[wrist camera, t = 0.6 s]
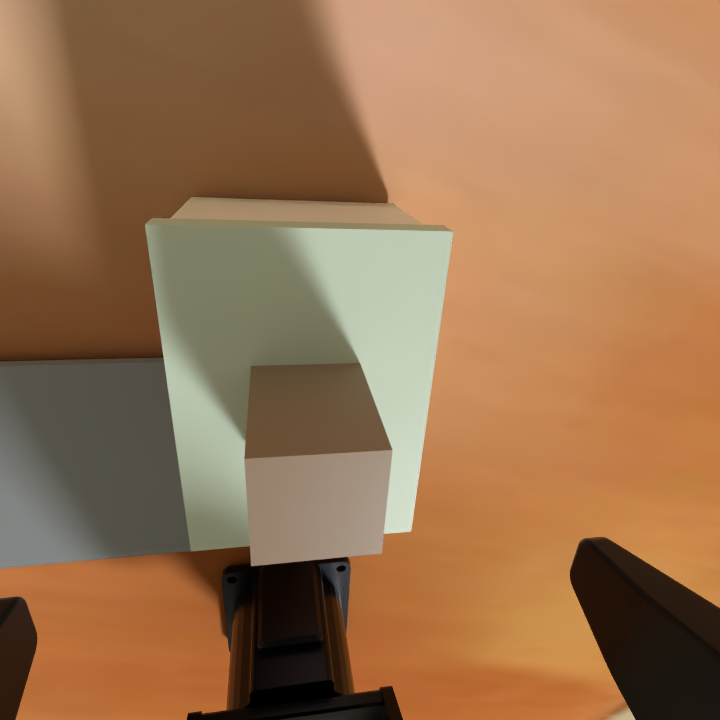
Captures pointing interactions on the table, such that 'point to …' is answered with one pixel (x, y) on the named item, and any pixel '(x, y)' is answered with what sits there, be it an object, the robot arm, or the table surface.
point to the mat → (87, 462)
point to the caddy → (293, 211)
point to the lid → (298, 377)
